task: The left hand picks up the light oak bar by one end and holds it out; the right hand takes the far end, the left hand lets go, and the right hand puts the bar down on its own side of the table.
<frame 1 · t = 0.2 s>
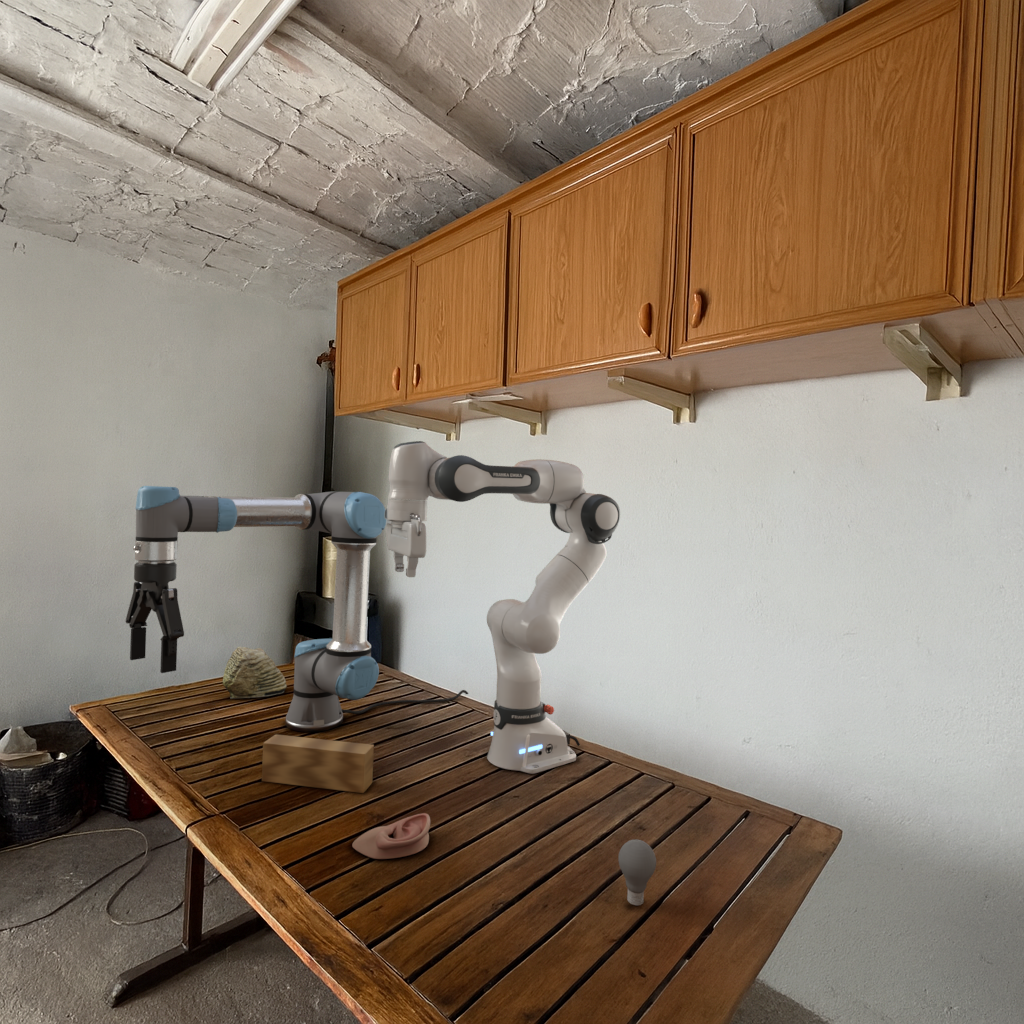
left hand: (152, 665, 130), 27 cm above the table, tool pointing down, fingers open, 13 cm apart
right hand: (404, 574, 143), 47 cm above the table, tool pointing down, fingers open, 8 cm apart
bar: (317, 781, 141), on the table
fossil: (254, 694, 198), on the table
light bulb: (635, 904, 102), on the table
anatomical model: (391, 844, 117), on the table
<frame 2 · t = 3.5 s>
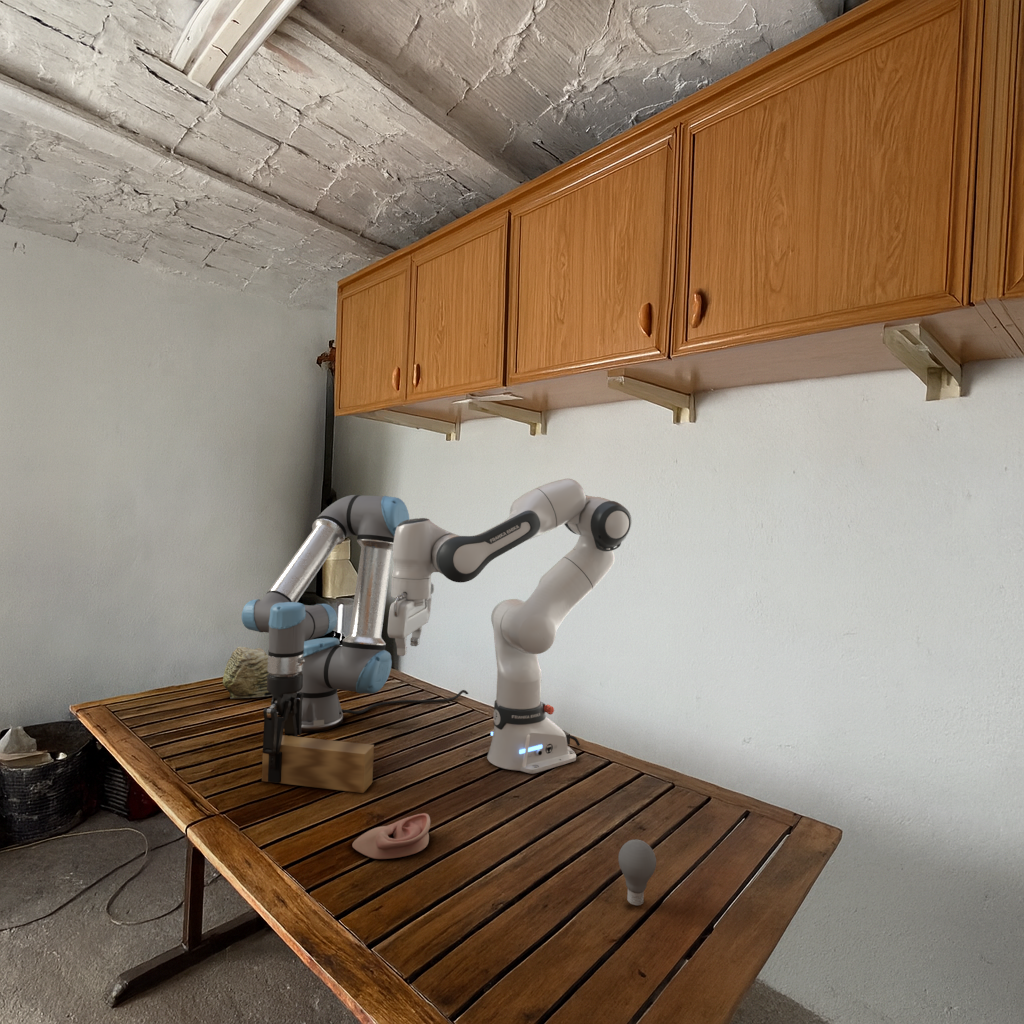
left hand: (281, 775, 142), 0 cm above the table, tool pointing down, fingers closed on bar, 5 cm apart
right hand: (408, 650, 144), 29 cm above the table, tool pointing down, fingers open, 8 cm apart
bar: (317, 781, 141), on the table, touching left hand
everything else where it was.
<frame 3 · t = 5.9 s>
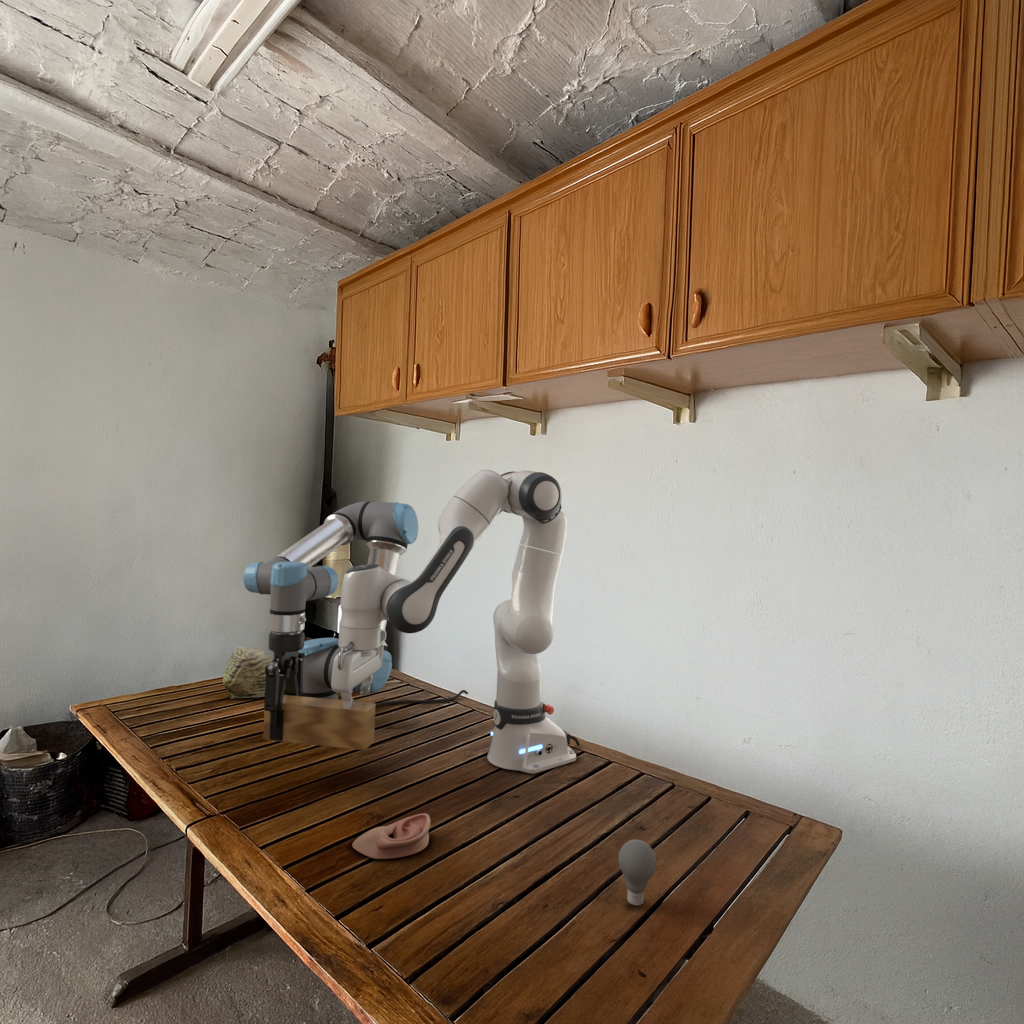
left hand: (283, 734, 142), 10 cm above the table, tool pointing down, fingers closed on bar, 5 cm apart
right hand: (356, 701, 139), 19 cm above the table, tool pointing down, fingers open, 8 cm apart
bar: (319, 740, 140), point 9 cm above the table, touching left hand
everything else where it was.
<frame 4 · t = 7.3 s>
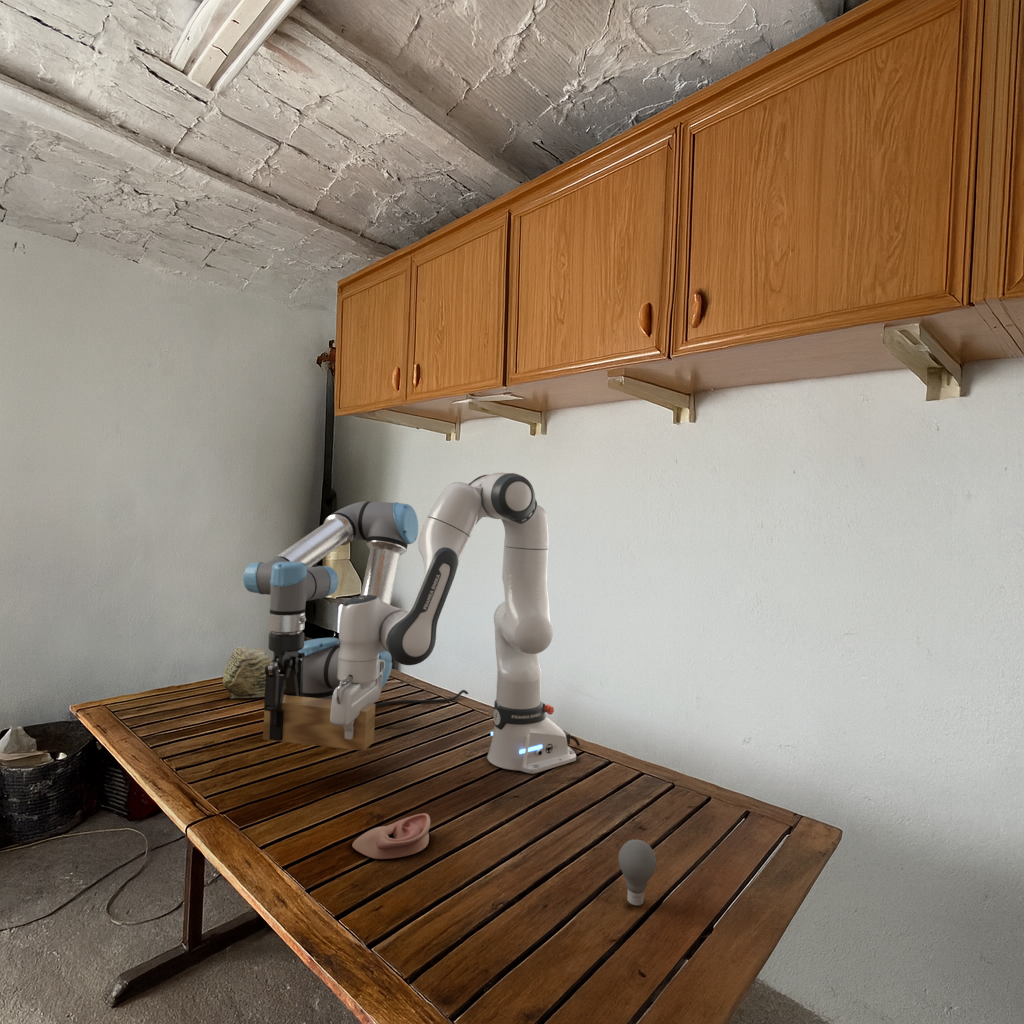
left hand: (283, 734, 142), 10 cm above the table, tool pointing down, fingers closed on bar, 5 cm apart
right hand: (355, 732, 139), 12 cm above the table, tool pointing down, fingers closed on bar, 5 cm apart
bar: (318, 740, 140), point 9 cm above the table, touching left hand, right hand
everything else where it was.
when the left hand's fingers open (10 cm above the table, at t = 8.3 s): bar stays where it is, held by the right hand.
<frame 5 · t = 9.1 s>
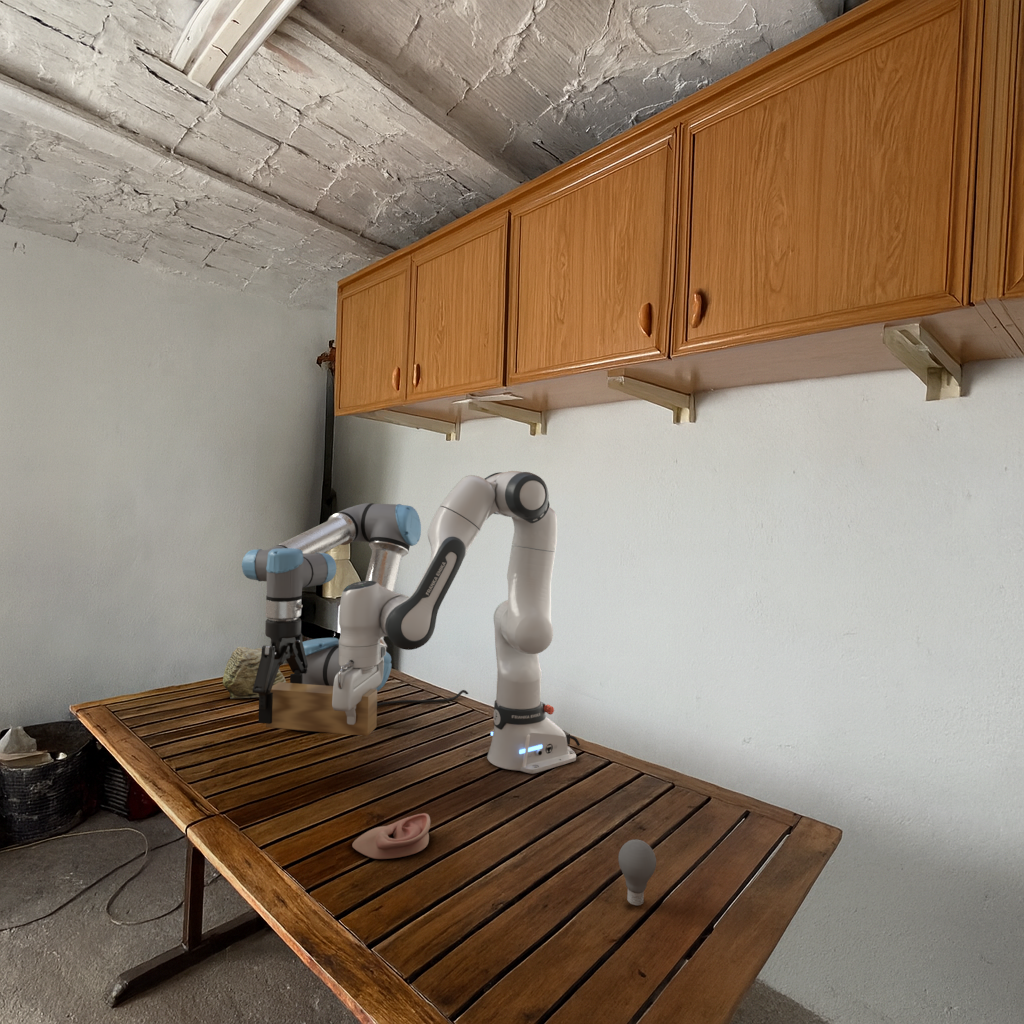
left hand: (281, 711, 142), 15 cm above the table, tool pointing down, fingers open, 13 cm apart
right hand: (358, 718, 139), 15 cm above the table, tool pointing down, fingers closed on bar, 5 cm apart
bar: (321, 727, 141), point 12 cm above the table, touching right hand
everything else where it was.
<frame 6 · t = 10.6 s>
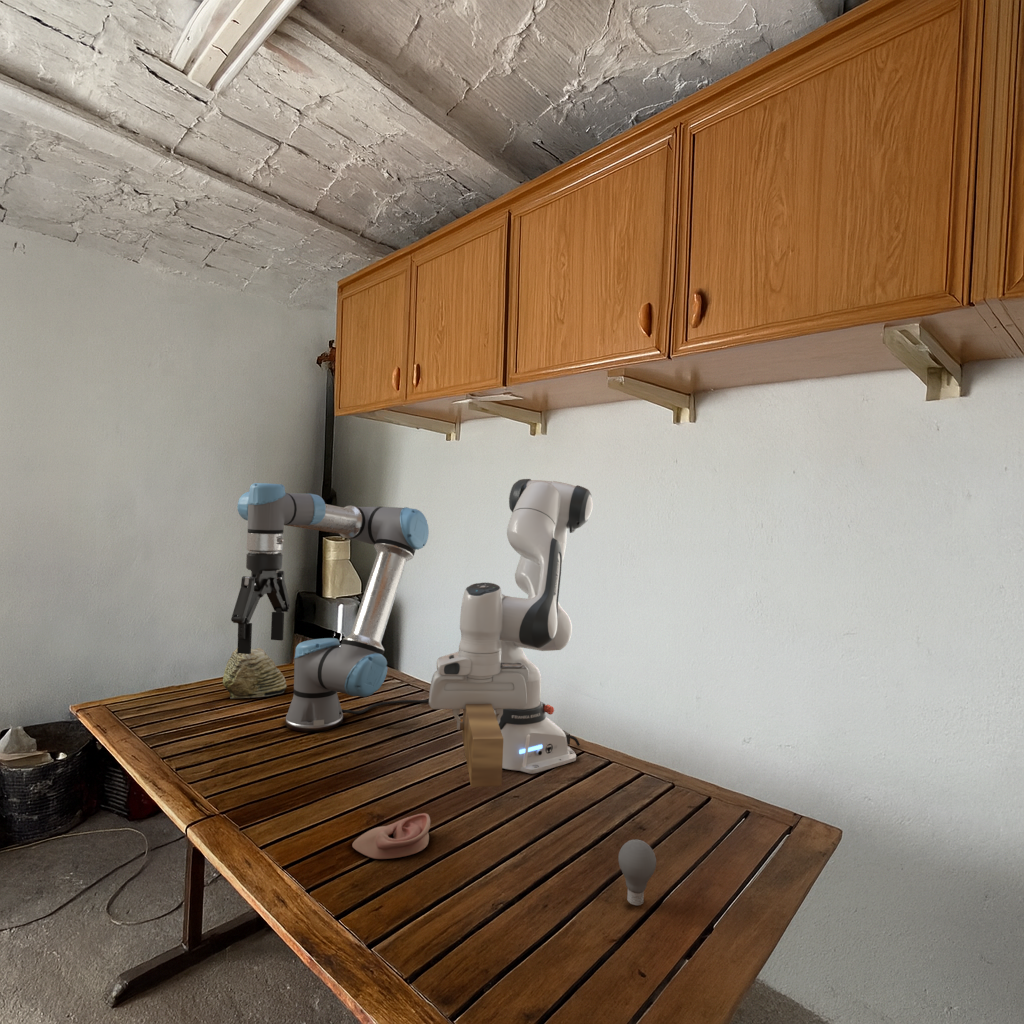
left hand: (261, 646, 142), 29 cm above the table, tool pointing down, fingers open, 13 cm apart
right hand: (476, 729, 131), 17 cm above the table, tool pointing down, fingers closed on bar, 5 cm apart
bar: (479, 759, 122), point 14 cm above the table, touching right hand
everything else where it was.
when the right hand's fingers open (5 cm above the table, at t = 13.8 s): bar drops 1 cm, on the table.
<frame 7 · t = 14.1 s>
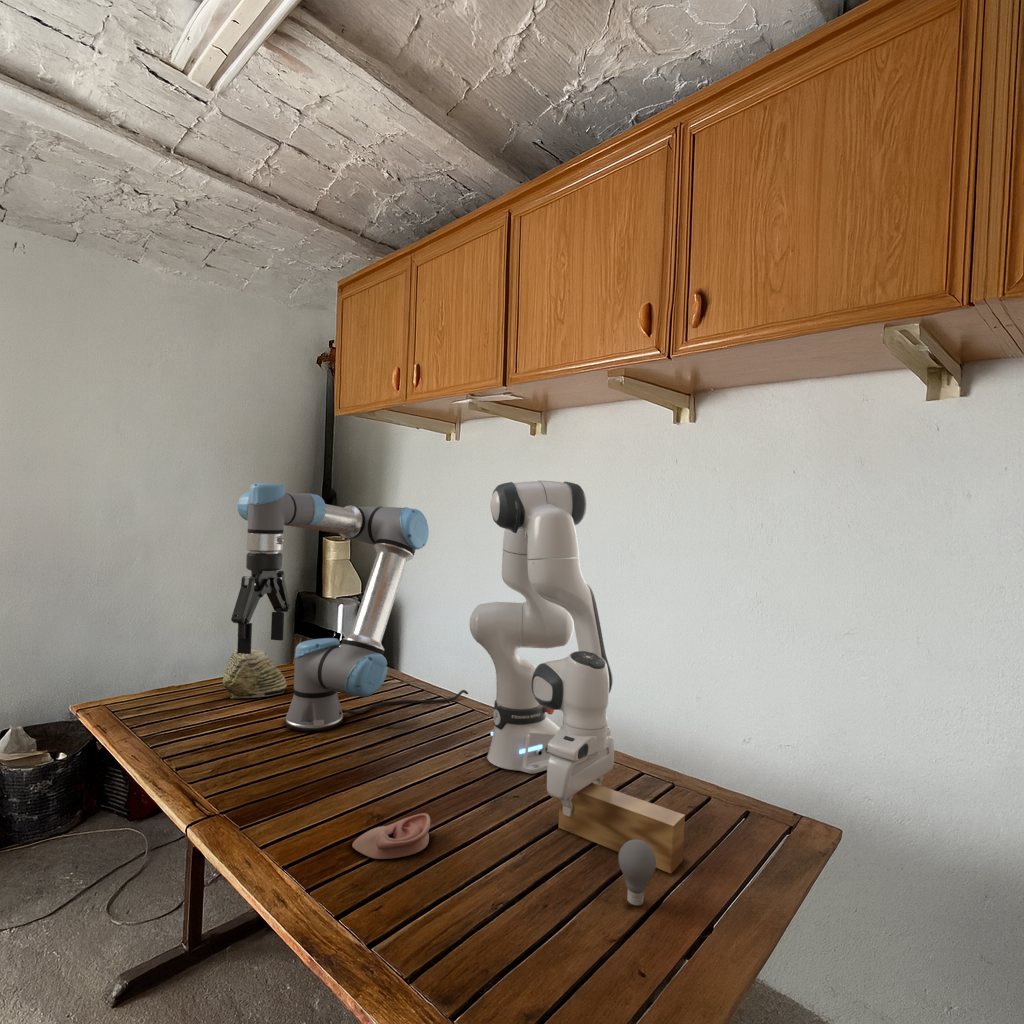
left hand: (261, 646, 142), 29 cm above the table, tool pointing down, fingers open, 13 cm apart
right hand: (581, 805, 125), 5 cm above the table, tool pointing down, fingers open, 8 cm apart
bar: (618, 843, 120), on the table
everything else where it was.
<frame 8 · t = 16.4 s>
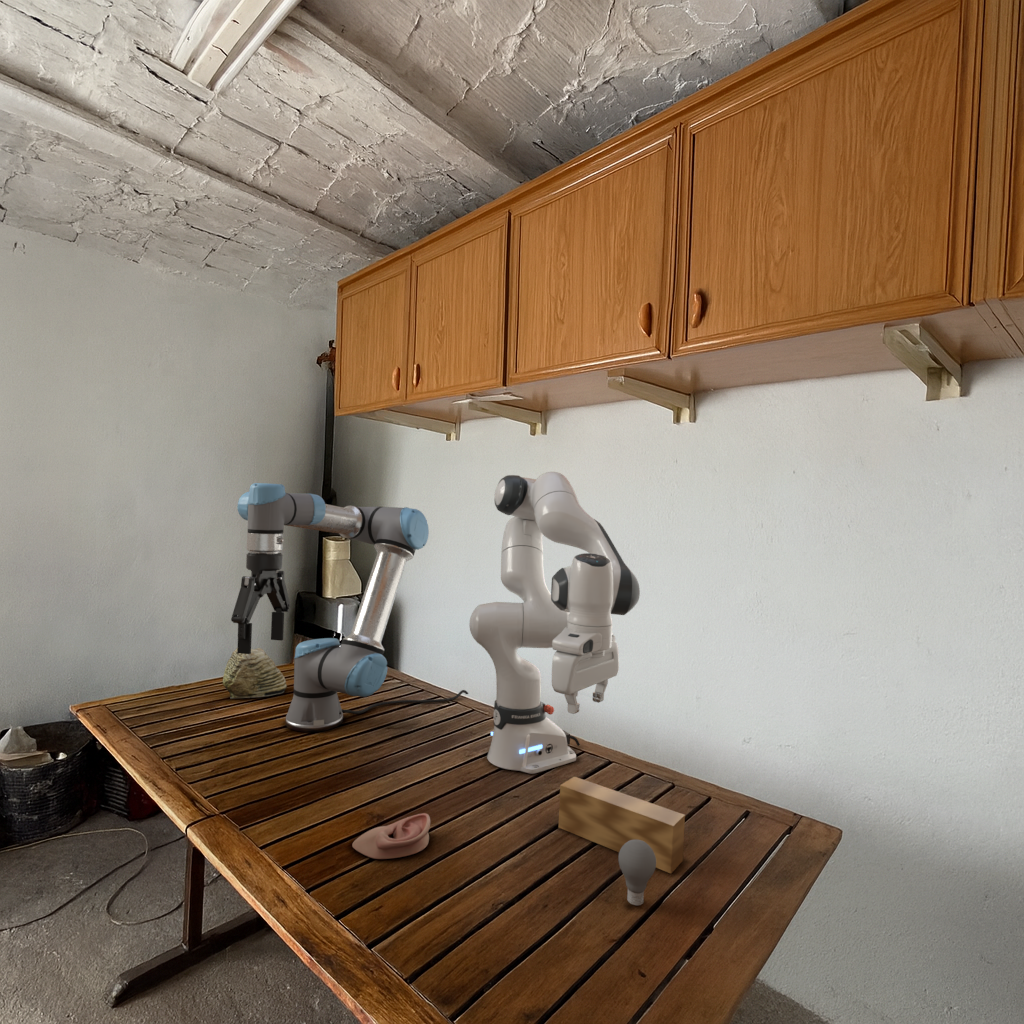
left hand: (261, 646, 142), 29 cm above the table, tool pointing down, fingers open, 13 cm apart
right hand: (586, 706, 125), 24 cm above the table, tool pointing down, fingers open, 8 cm apart
nothing on the table moved.
at the end: bar inside the target area (8.3 cm from its centre), on the table; the left hand is holding nothing; the right hand is holding nothing; bar at rest at the end (0.0 cm/s) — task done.
